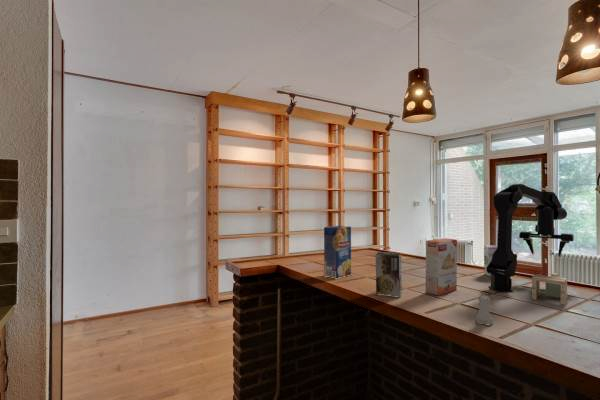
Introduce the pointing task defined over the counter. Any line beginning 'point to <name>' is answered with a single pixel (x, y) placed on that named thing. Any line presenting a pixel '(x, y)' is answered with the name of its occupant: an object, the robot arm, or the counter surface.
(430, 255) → the cracker box
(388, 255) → the coffee box
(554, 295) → the tethered block
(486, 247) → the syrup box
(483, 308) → the rook chess piece
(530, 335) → the counter surface
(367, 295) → the counter surface
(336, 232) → the blue food box
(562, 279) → the shelf lane
